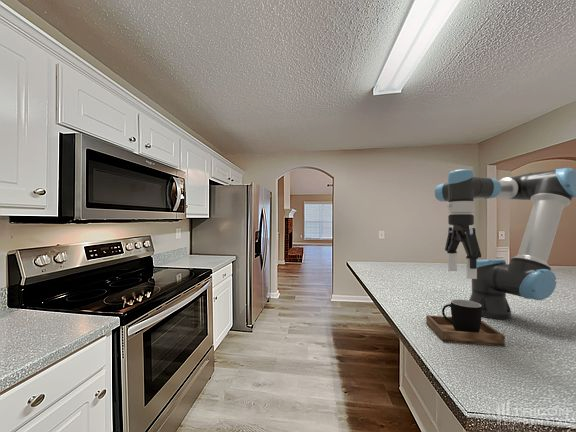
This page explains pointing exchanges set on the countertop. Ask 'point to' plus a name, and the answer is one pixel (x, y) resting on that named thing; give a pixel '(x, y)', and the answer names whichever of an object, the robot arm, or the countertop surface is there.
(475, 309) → the mug
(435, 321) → the walnut tray
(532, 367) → the countertop surface
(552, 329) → the countertop surface
